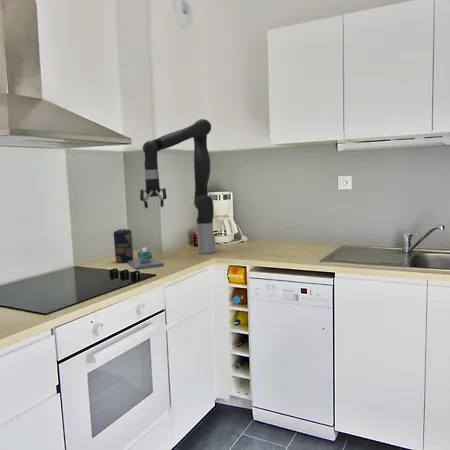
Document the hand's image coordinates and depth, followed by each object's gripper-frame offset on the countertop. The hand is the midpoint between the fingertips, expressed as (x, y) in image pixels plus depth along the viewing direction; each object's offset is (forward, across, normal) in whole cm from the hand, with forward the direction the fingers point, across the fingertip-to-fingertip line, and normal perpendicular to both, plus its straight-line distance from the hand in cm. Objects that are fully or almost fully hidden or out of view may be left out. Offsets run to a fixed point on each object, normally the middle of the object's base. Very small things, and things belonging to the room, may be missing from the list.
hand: (154, 207), depth 233 cm
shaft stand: (+28, +11, +15) cm, 34 cm away
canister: (+28, +18, -2) cm, 33 cm away
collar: (+24, +11, +15) cm, 31 cm away
